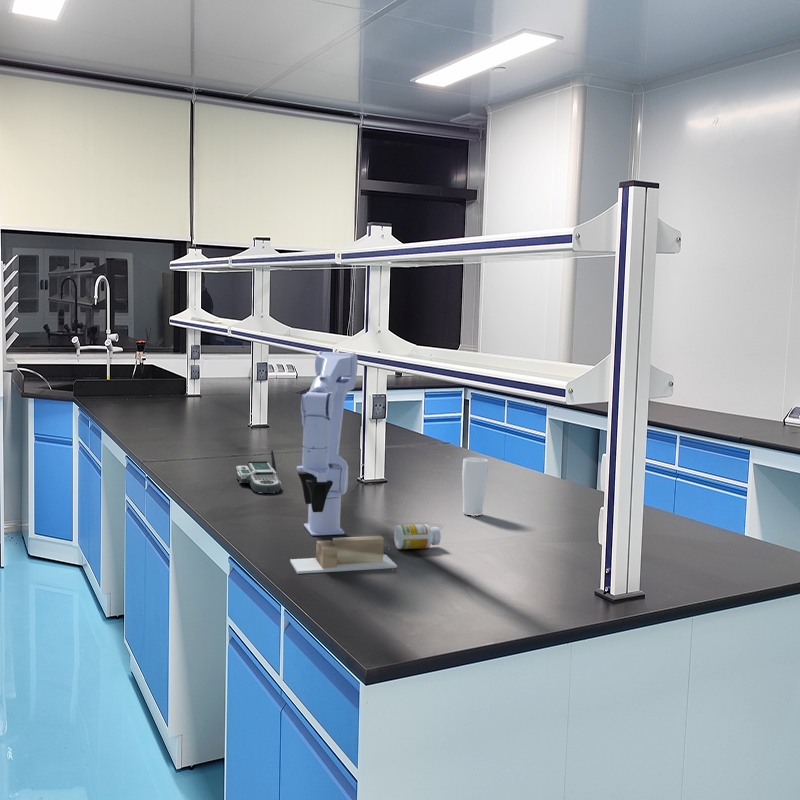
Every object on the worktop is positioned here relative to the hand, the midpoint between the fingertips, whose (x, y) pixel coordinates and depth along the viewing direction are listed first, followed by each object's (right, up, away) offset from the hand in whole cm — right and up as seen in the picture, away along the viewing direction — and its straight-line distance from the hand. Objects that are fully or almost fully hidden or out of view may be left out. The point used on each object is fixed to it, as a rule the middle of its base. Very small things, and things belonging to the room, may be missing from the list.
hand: (313, 507), depth 179 cm
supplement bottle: (+18, -7, +4) cm, 20 cm away
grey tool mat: (+7, -11, -9) cm, 16 cm away
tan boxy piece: (+9, -10, -9) cm, 16 cm away
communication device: (-23, -2, +63) cm, 67 cm away
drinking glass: (+38, -7, +39) cm, 55 cm away
